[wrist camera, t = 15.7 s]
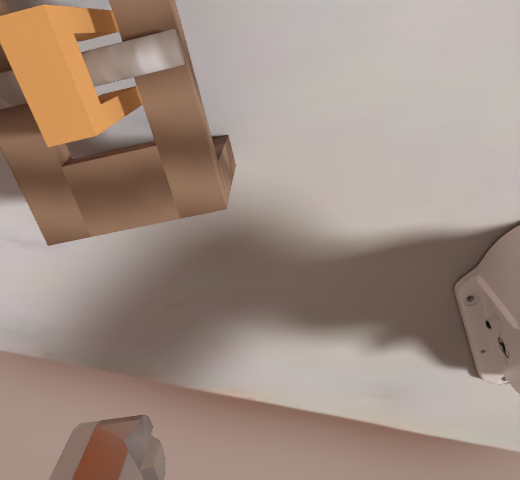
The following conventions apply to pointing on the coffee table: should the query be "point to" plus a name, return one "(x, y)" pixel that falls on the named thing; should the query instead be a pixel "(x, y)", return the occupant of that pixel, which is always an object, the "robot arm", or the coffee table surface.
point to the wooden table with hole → (131, 158)
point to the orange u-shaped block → (62, 70)
